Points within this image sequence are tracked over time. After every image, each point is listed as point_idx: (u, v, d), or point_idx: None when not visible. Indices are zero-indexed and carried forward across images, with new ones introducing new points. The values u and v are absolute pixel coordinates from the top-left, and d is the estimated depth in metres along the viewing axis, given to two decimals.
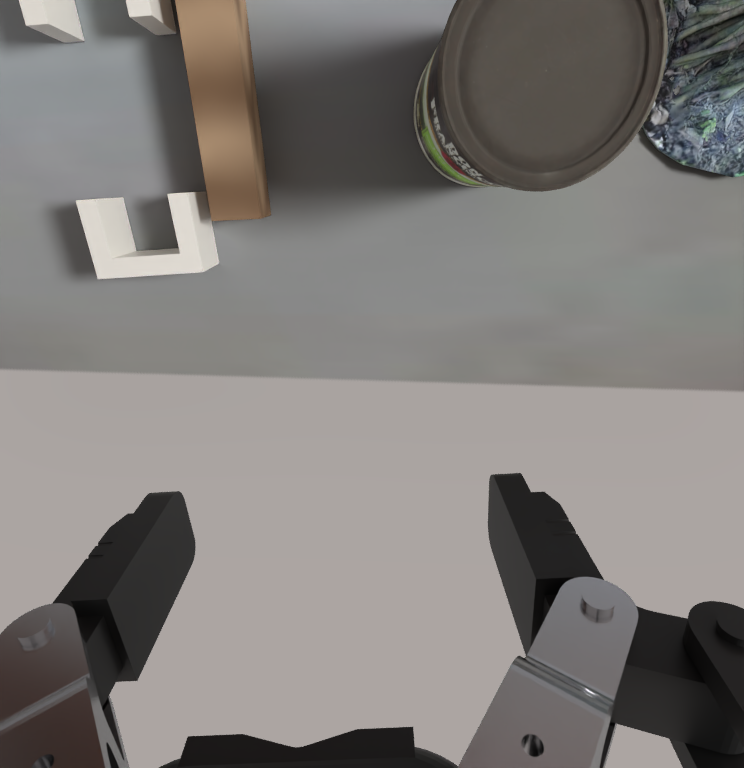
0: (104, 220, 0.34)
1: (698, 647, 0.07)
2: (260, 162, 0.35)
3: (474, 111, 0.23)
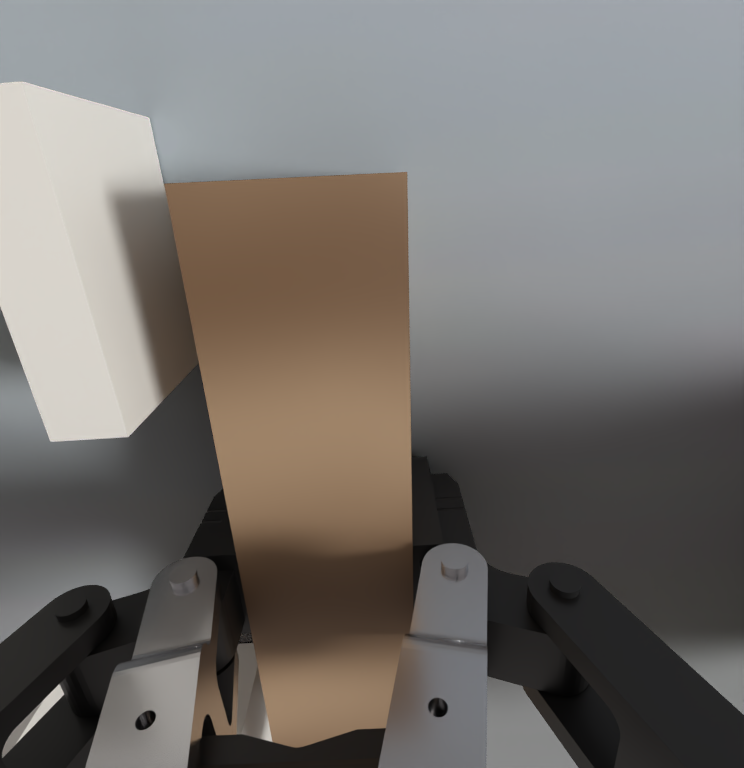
0: None
1: (541, 611, 0.08)
2: None
3: None
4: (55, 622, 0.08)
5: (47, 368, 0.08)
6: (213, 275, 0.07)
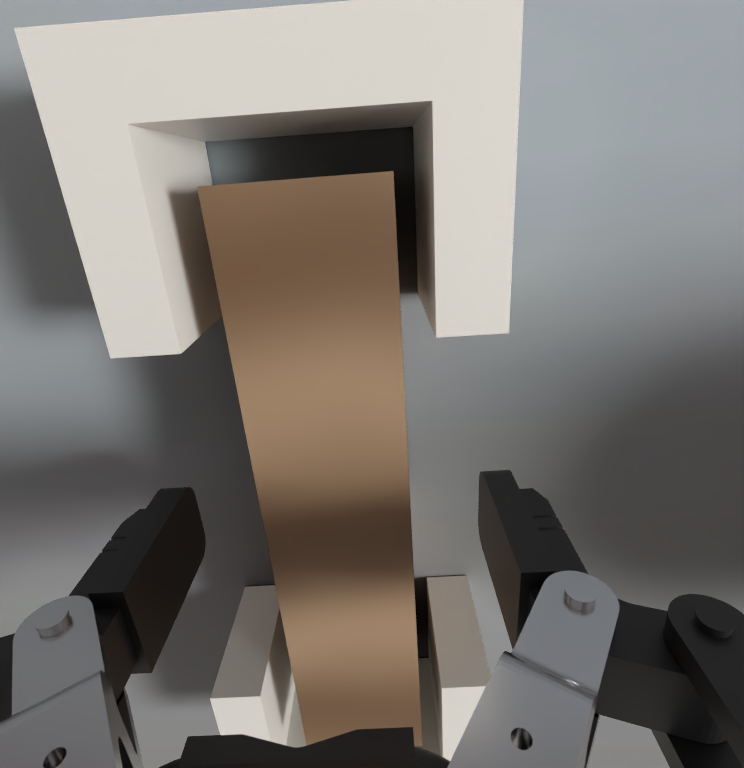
0: (270, 714, 0.14)
1: (678, 640, 0.07)
2: None
3: None
4: None
5: (456, 265, 0.09)
6: (237, 260, 0.09)
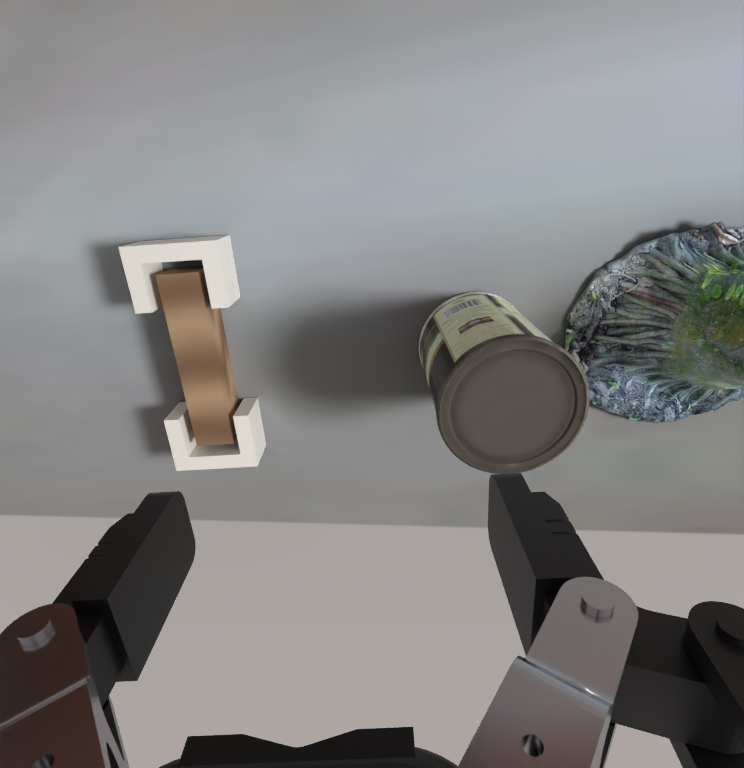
0: (183, 431, 0.45)
1: (698, 647, 0.07)
2: (232, 398, 0.46)
3: (461, 431, 0.33)
4: None
5: (213, 292, 0.40)
6: (165, 290, 0.40)
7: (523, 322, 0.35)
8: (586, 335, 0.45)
